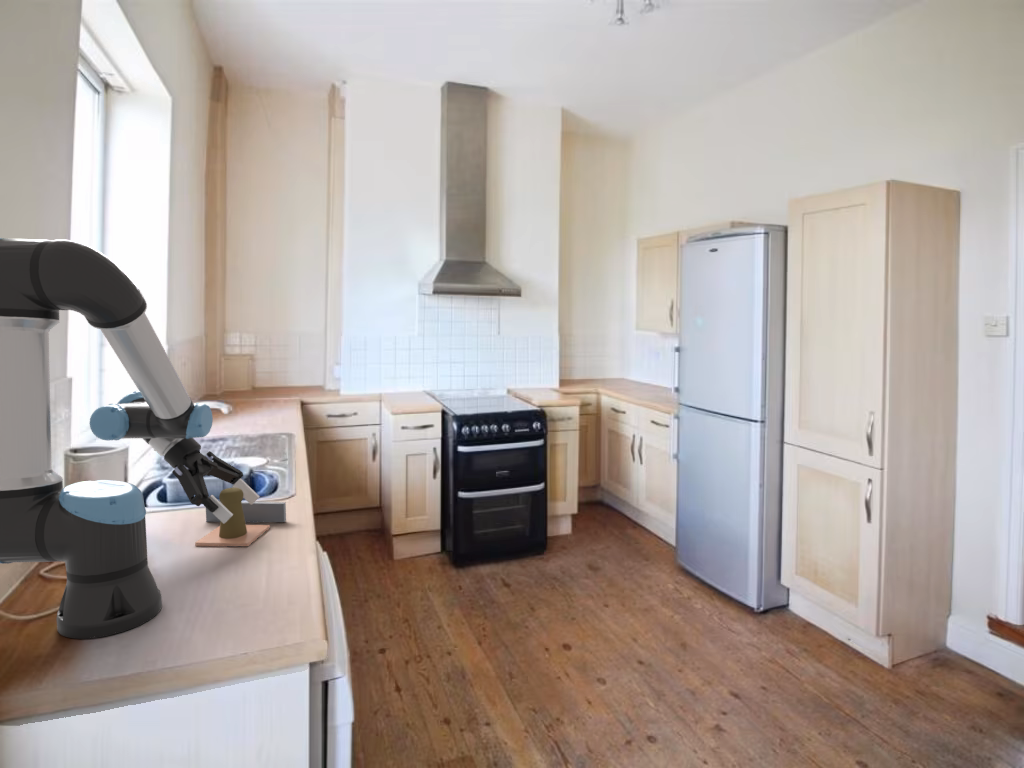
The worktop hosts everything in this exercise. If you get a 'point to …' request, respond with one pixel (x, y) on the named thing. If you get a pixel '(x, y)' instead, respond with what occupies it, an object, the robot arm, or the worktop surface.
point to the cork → (237, 522)
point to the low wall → (258, 512)
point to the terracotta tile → (244, 540)
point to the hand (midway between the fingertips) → (242, 509)
